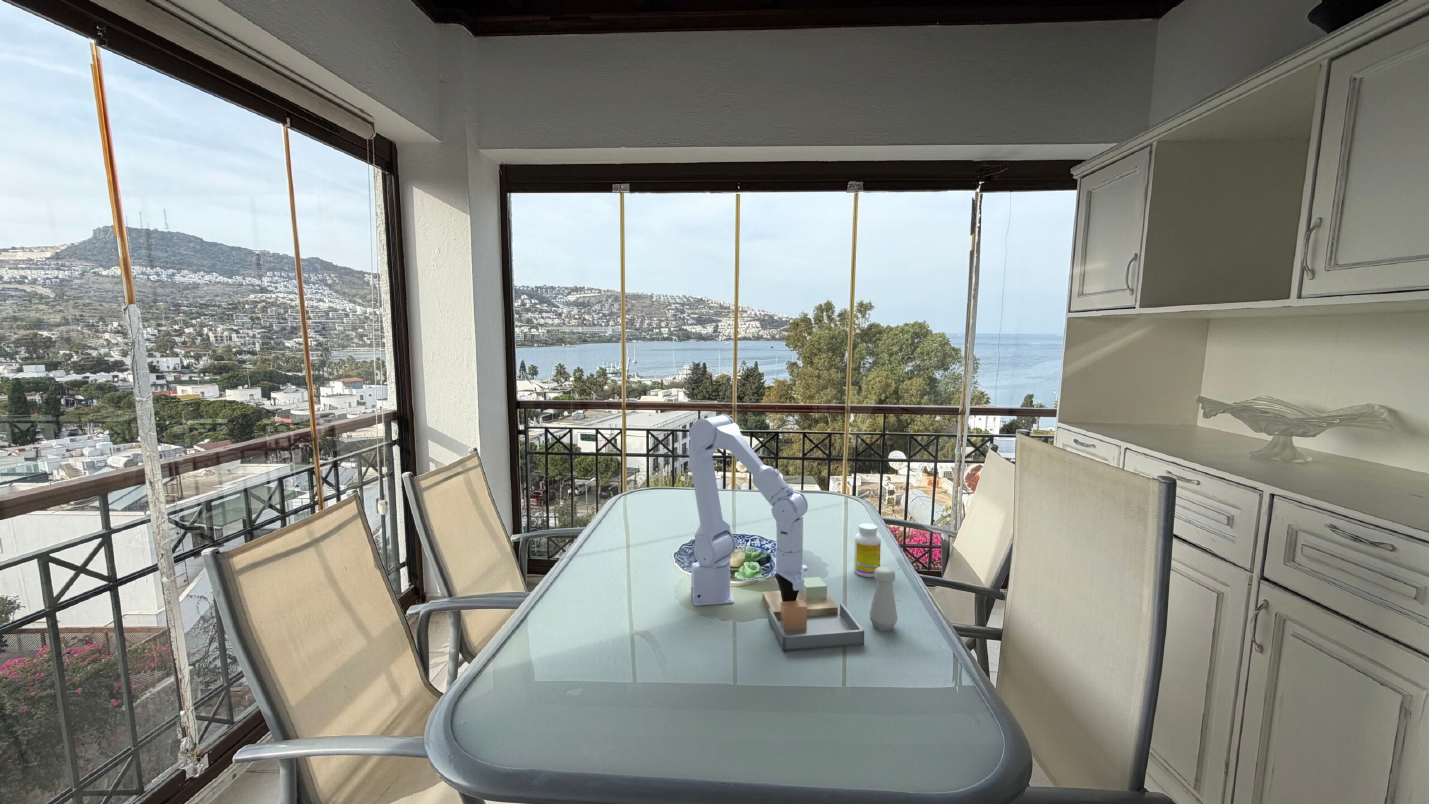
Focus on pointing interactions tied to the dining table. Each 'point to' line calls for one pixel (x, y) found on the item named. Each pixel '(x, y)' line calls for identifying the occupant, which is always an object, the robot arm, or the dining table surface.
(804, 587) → the tile sage
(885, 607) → the salt shaker
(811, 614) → the board
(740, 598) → the dining table surface
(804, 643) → the tray
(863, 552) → the supplement bottle
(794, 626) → the tile terracotta
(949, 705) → the dining table surface
